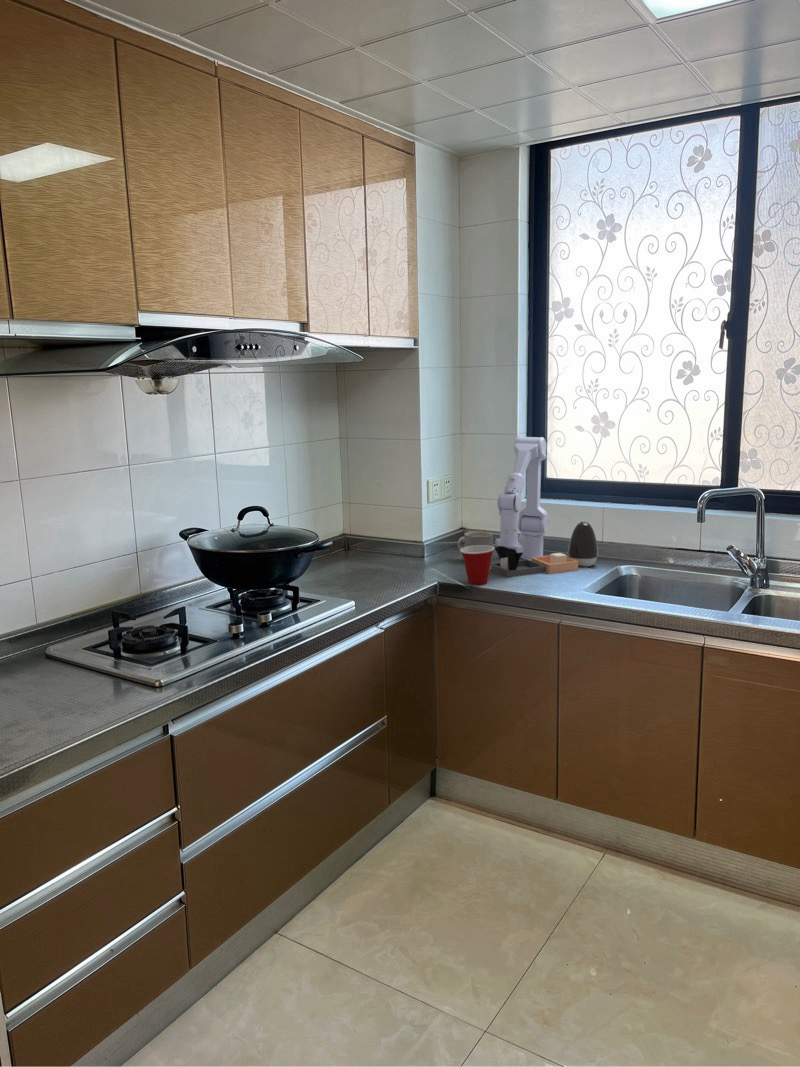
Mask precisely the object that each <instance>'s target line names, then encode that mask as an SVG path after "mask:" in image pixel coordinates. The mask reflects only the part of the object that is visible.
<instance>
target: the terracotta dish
mask: <svg viewBox="0 0 800 1067" xmlns="http://www.w3.org/2000/svg"><path fill="white" fill-rule="evenodd" d="M530 561H533V562H535V563H538V564H540V565H543V566H545V573H547V574H551V575H552V574H558V573H566V572H567V573H568V572H573V571H579V566H578V561H577V560H574V559H571V558H569V556H567V562H563V563H556V564H550V554H549V555H543V556H541V557H532V558H531V560H530Z"/></svg>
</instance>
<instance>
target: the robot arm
mask: <svg viewBox="0 0 800 1067" xmlns="http://www.w3.org/2000/svg"><path fill="white" fill-rule="evenodd" d="M513 450H514V454H515V457H516V458H515V462H514V466H513V471H512V473H511V474H509V475H508V477H507V479H506V483H505V486H504V489H503V492H502V493H501V494H499V496H498V499H497V508H498V516H500V521H499V522H500V524H499V525H500V526H499V527H500V531H499V533H500V534H499V537H500V538H495V545H496V546H497V547H495V546H494V550H495V551H496V553H497V555H498V560H500V558H508V565H509V570H516V569H517V565H518V562H519V560H521V558H522V559H523V560H526V559H528V560H530V561H531V558H532V557H541V556H544V535H545V534H546V533H548V530H549V527H550V526H549V525H550V522H549V513H548V512H547V511H546V510H545V508H543V507H541V480H542V462H543V461H544V460H546V459H547V442H546V439H545V438H544V436H543V437H542V436H540V437H538V436H537V437H536V436H534V437H533V436H520V435H519V436H516V438H515V440H514V442H513ZM525 473H526V479H525V478H524V476H525ZM525 484H526V494H525V495H526V496H525V497H526V498H525V499H526V500H525V502H526V505H525V507H524V508H523V509H521V507H522V500H523V495H522V494H523V493H522V492H523V489H524V486H525ZM520 509H521V510H520ZM519 532H520V534H519Z"/></svg>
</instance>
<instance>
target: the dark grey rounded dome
mask: <svg viewBox="0 0 800 1067" xmlns="http://www.w3.org/2000/svg"><path fill="white" fill-rule="evenodd" d="M595 533H596V532H595V531H594V529H593V527H592V525H591V524H590V523H588V522H587V521H580V522H579V523H577V524H576V526H575V527H574V529H573V531H572V533H571V536H570V540H569V542H568V548H567V557H568V558H571V559H574V560H577V561H578V567H585V568H588V567H592V566H593V565H594V564H595V563H596V562H597V559H598V557H599V547H598V541H597V536H596V534H595Z"/></svg>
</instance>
